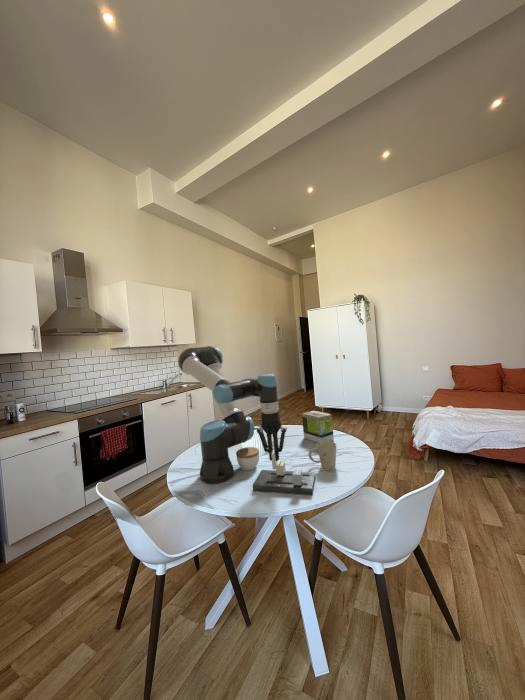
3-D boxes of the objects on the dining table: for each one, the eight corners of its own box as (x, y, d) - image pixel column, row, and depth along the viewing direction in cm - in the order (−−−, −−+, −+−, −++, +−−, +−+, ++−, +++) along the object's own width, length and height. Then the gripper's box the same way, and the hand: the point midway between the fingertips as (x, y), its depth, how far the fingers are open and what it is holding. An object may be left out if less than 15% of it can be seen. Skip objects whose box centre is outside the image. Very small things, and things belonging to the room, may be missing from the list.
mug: (338, 471, 120) (336, 447, 119) (309, 470, 122) (307, 448, 122) (337, 462, 128) (335, 440, 128) (309, 462, 130) (307, 441, 130)
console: (253, 491, 109) (252, 484, 109) (262, 475, 122) (261, 469, 121) (312, 495, 103) (311, 488, 103) (315, 478, 115) (315, 471, 115)
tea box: (334, 440, 156) (332, 413, 156) (321, 444, 151) (319, 417, 151) (315, 433, 169) (313, 409, 169) (303, 438, 164) (301, 413, 163)
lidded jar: (240, 475, 124) (238, 454, 124) (235, 465, 134) (233, 446, 134) (263, 469, 127) (261, 449, 127) (256, 461, 137) (255, 442, 137)
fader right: (293, 484, 106) (292, 474, 105) (295, 479, 109) (294, 469, 109) (301, 485, 105) (300, 474, 105) (302, 480, 109) (301, 469, 108)
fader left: (276, 475, 114) (275, 465, 114) (278, 470, 118) (277, 460, 118) (283, 475, 114) (282, 465, 114) (285, 470, 118) (284, 461, 117)
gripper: (252, 414, 114) (257, 471, 115) (283, 413, 111) (288, 472, 111) (257, 409, 121) (262, 463, 122) (287, 409, 118) (292, 464, 118)
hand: (275, 467), depth 116 cm, fingers closed
